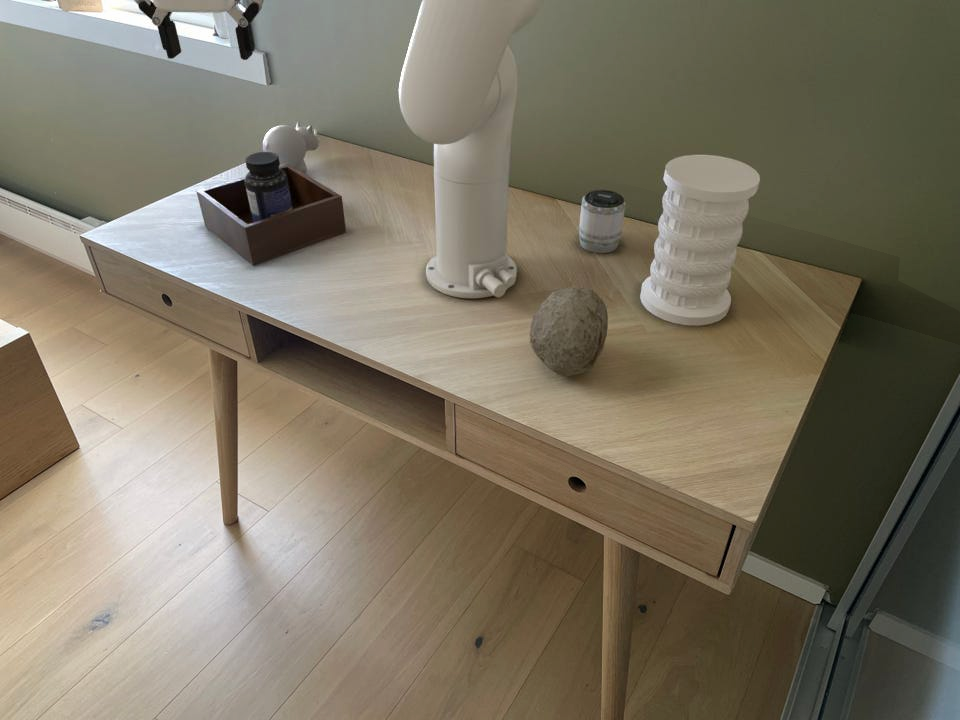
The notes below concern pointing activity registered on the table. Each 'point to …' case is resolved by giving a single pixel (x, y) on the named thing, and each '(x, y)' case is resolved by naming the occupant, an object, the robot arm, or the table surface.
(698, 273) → the decorative container
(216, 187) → the box
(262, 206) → the pill bottle
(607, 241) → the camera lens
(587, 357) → the decorative stone
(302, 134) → the toy rhinoceros
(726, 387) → the table surface
